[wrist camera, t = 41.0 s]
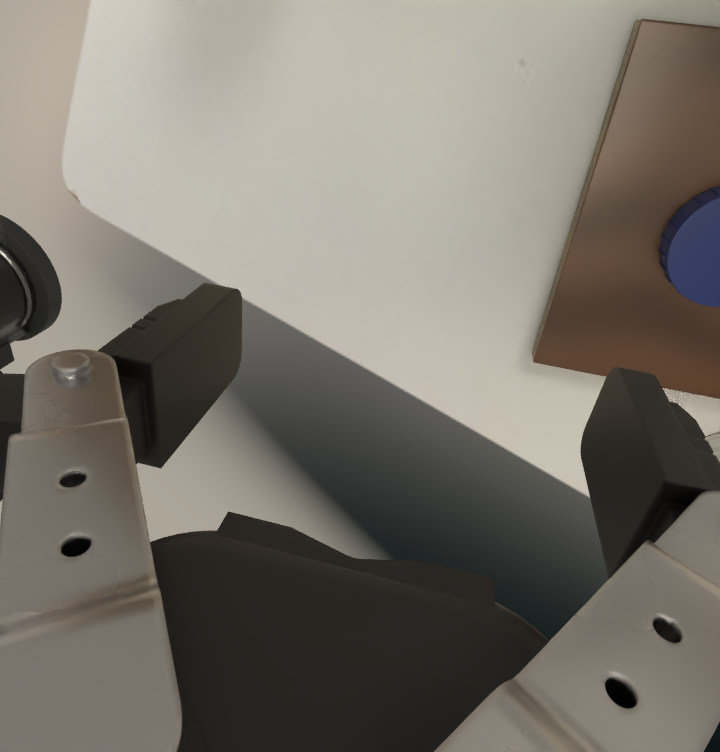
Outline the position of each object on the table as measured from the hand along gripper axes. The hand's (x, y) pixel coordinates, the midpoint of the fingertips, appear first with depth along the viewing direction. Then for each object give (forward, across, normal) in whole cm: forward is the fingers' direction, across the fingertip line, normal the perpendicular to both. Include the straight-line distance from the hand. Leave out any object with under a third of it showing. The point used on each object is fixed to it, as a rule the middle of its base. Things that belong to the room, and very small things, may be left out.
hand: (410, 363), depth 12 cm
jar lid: (+22, -15, +1) cm, 27 cm away
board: (+26, -15, +1) cm, 30 cm away
